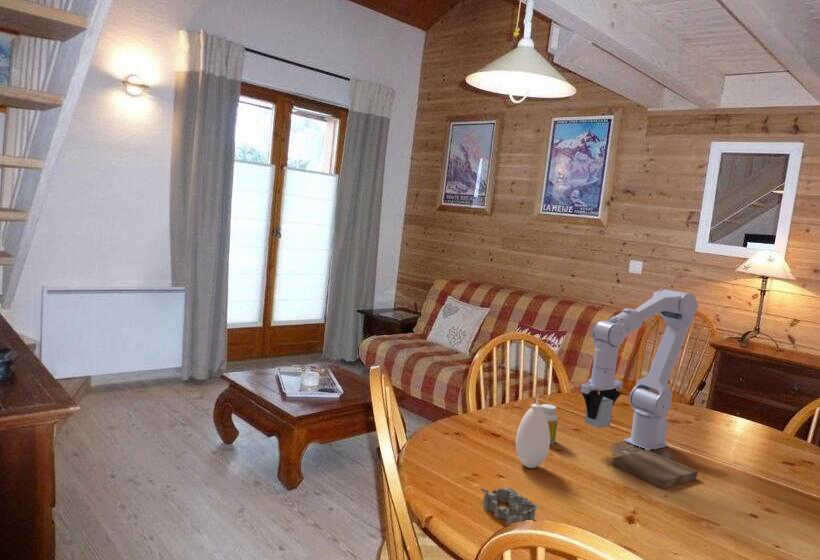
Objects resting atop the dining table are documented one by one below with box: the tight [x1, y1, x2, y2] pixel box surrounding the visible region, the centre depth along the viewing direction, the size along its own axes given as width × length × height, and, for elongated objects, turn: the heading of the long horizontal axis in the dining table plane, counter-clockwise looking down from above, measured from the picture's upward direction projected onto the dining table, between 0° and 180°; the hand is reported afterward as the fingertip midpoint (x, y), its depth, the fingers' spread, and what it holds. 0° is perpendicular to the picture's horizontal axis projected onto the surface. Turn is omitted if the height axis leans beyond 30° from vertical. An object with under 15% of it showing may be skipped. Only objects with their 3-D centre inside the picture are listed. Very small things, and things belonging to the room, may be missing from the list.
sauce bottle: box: [515, 394, 551, 469], centre depth 142 cm, size 8×8×18 cm
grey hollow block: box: [480, 487, 540, 527], centre depth 118 cm, size 11×8×4 cm
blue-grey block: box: [584, 397, 614, 429], centre depth 155 cm, size 5×5×7 cm
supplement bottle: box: [540, 403, 559, 445], centre depth 161 cm, size 5×5×10 cm
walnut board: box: [612, 449, 698, 490], centre depth 146 cm, size 14×14×2 cm
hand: (598, 417), depth 155 cm, fingers closed on blue-grey block, 5 cm apart
